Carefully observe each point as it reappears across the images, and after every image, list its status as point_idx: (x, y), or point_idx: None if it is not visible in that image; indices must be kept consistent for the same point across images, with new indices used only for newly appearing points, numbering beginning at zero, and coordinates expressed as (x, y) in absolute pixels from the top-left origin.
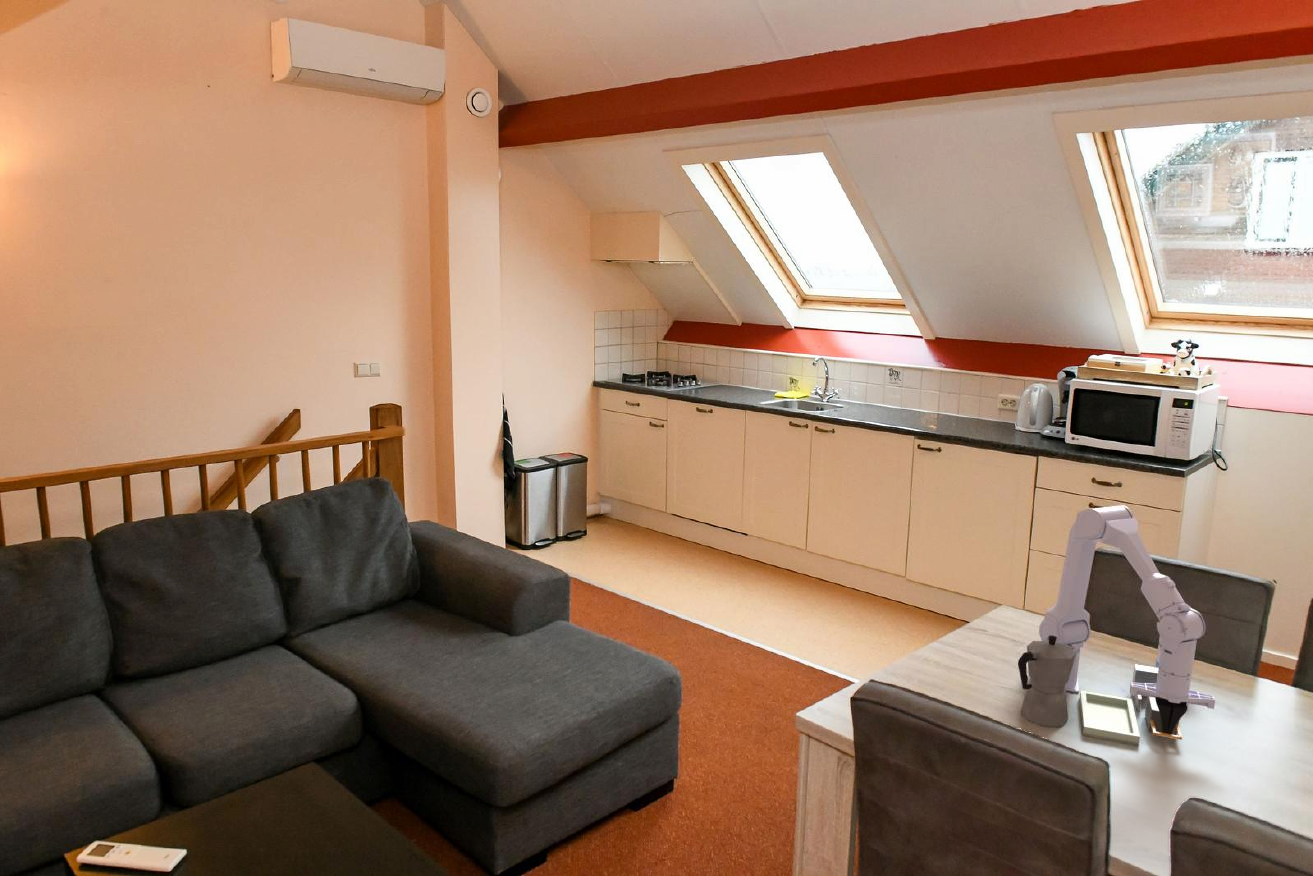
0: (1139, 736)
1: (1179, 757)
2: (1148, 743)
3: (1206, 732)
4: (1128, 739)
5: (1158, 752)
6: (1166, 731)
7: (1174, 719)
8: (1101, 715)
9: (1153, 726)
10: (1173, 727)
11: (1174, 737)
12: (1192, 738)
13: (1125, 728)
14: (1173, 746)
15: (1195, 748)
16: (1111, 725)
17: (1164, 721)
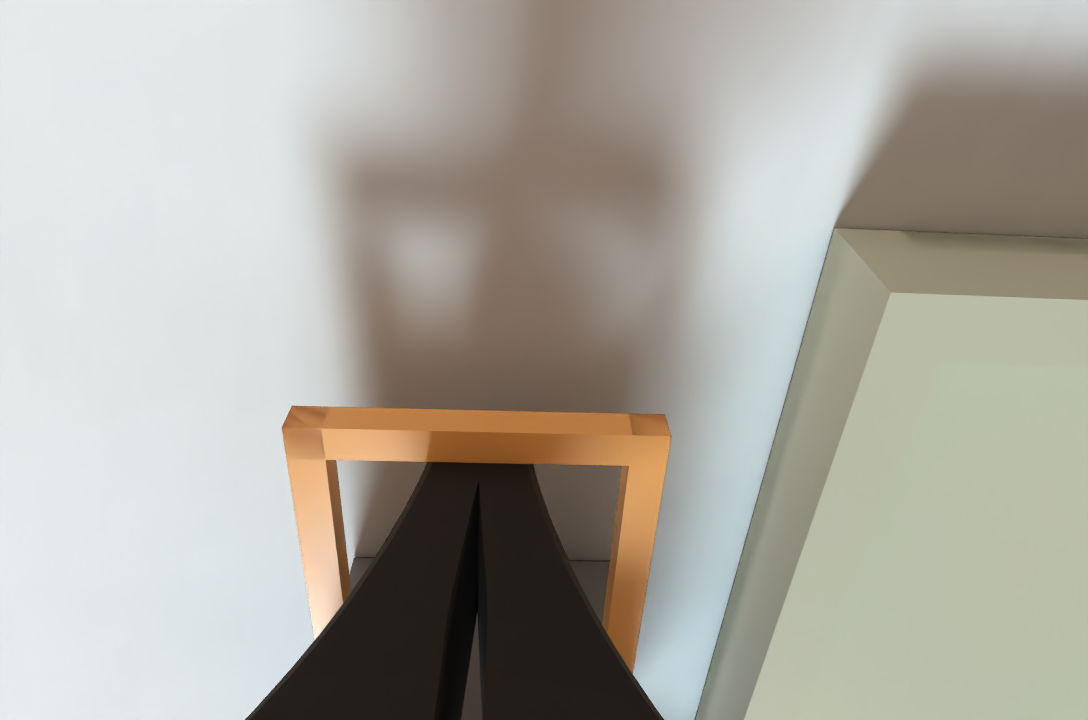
0: (895, 301)
1: (345, 104)
2: (681, 341)
3: (99, 696)
4: (997, 265)
5: (611, 149)
6: (496, 482)
7: (375, 673)
8: (1011, 669)
9: (632, 572)
10: (397, 540)
11: (388, 418)
12: (206, 578)
13: (874, 528)
14: (400, 369)
15: (162, 407)
16: (1008, 539)
17: (554, 608)
